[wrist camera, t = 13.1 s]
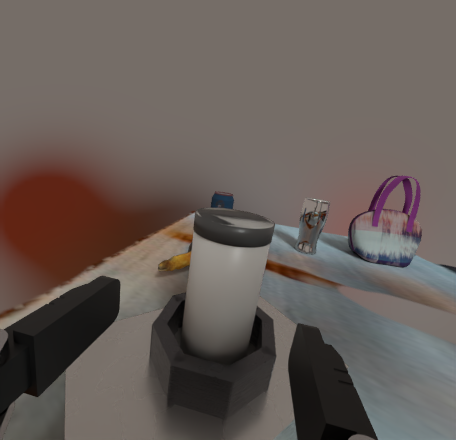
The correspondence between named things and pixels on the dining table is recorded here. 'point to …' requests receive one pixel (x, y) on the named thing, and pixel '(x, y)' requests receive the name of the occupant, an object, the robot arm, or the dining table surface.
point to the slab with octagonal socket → (180, 383)
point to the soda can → (222, 200)
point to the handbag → (387, 228)
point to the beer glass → (311, 224)
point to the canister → (224, 283)
